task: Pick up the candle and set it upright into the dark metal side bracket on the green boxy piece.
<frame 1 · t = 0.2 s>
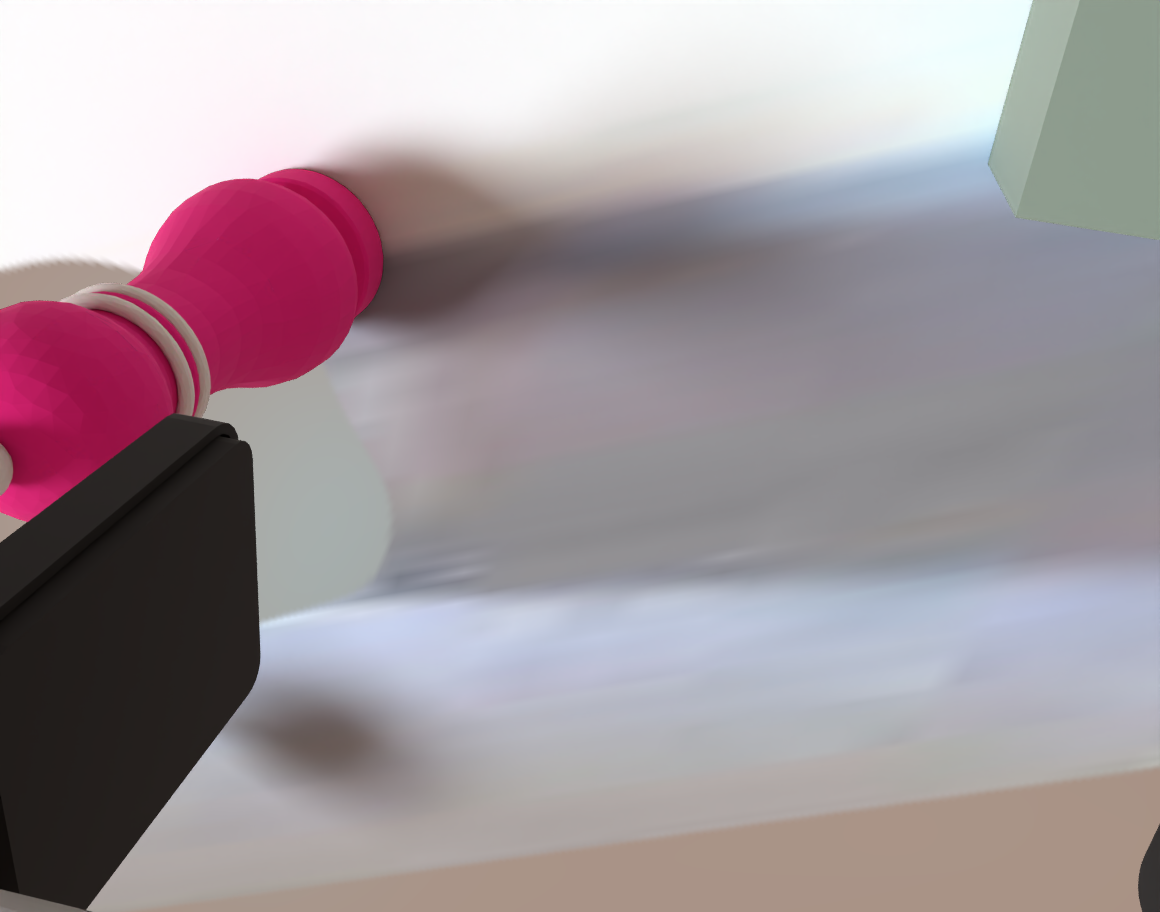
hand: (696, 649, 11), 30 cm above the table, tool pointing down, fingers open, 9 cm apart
pepper mill: (311, 247, 43), on the table
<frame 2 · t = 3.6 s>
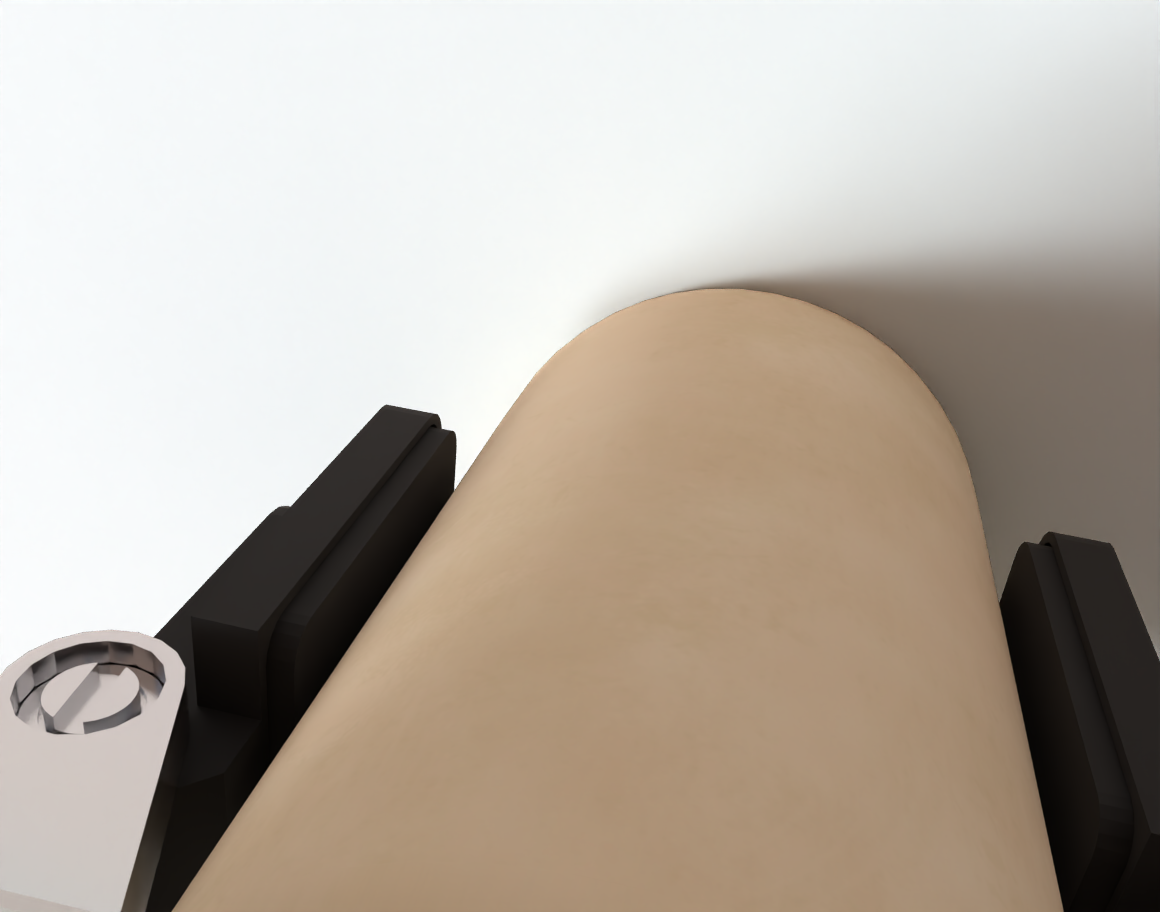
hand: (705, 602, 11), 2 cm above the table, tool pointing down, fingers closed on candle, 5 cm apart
candle: (728, 498, 13), on the table, touching gripper
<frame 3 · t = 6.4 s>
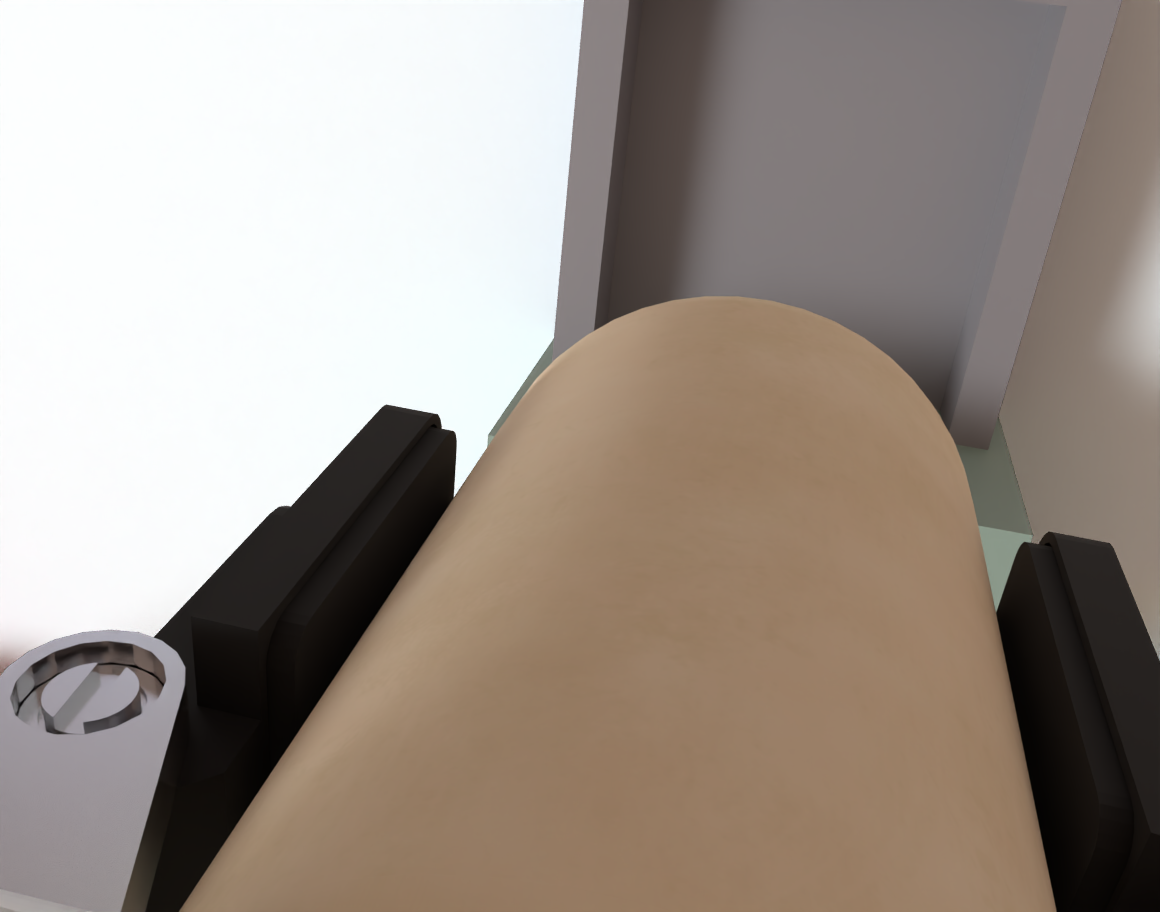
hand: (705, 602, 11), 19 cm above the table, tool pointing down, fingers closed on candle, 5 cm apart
candle: (726, 504, 13), point 17 cm above the table, touching gripper
green boxy piece: (764, 400, 31), on the table
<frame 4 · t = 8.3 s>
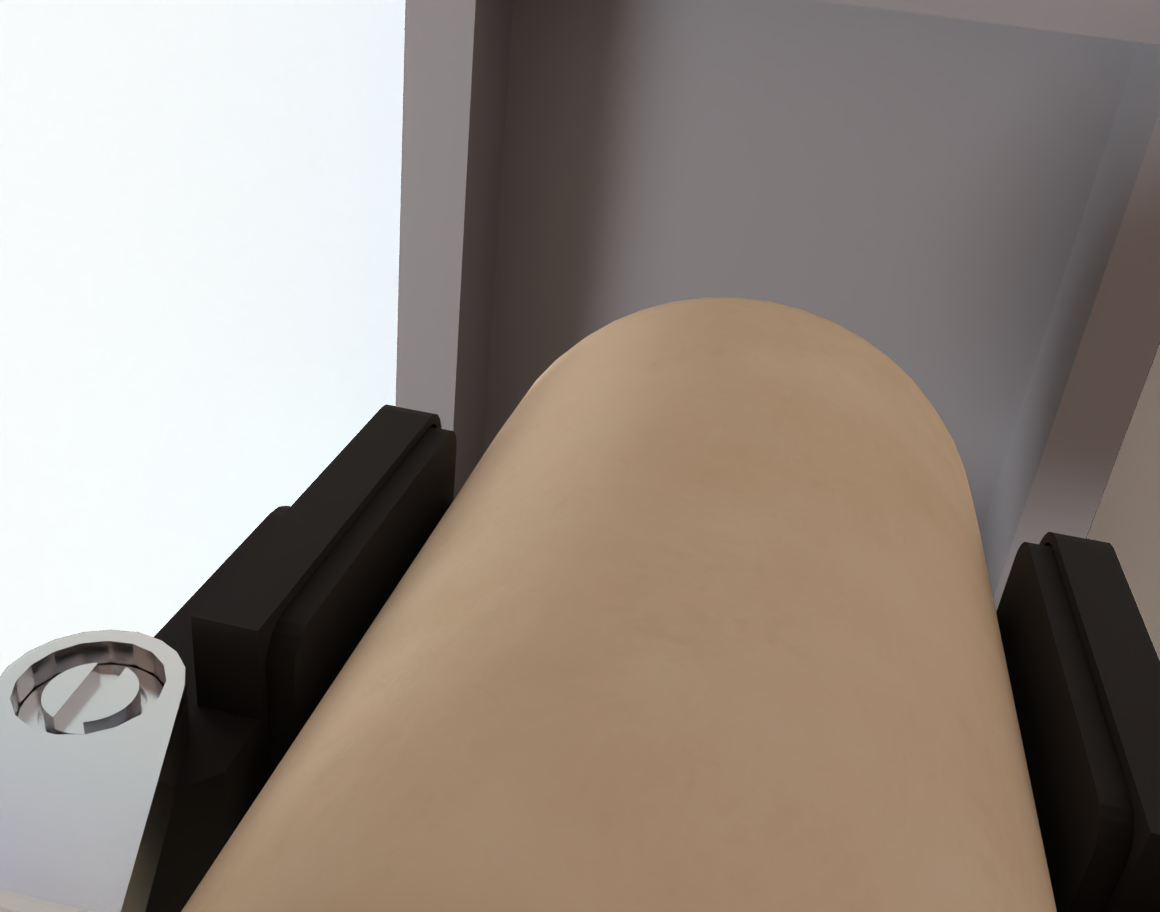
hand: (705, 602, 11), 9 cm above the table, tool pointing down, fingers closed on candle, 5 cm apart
candle: (726, 505, 13), point 7 cm above the table, touching gripper
green boxy piece: (706, 577, 22), on the table
when the fingers open (4 cm above the table, at t = 9.7 s): candle drops 1 cm, resting on green boxy piece.
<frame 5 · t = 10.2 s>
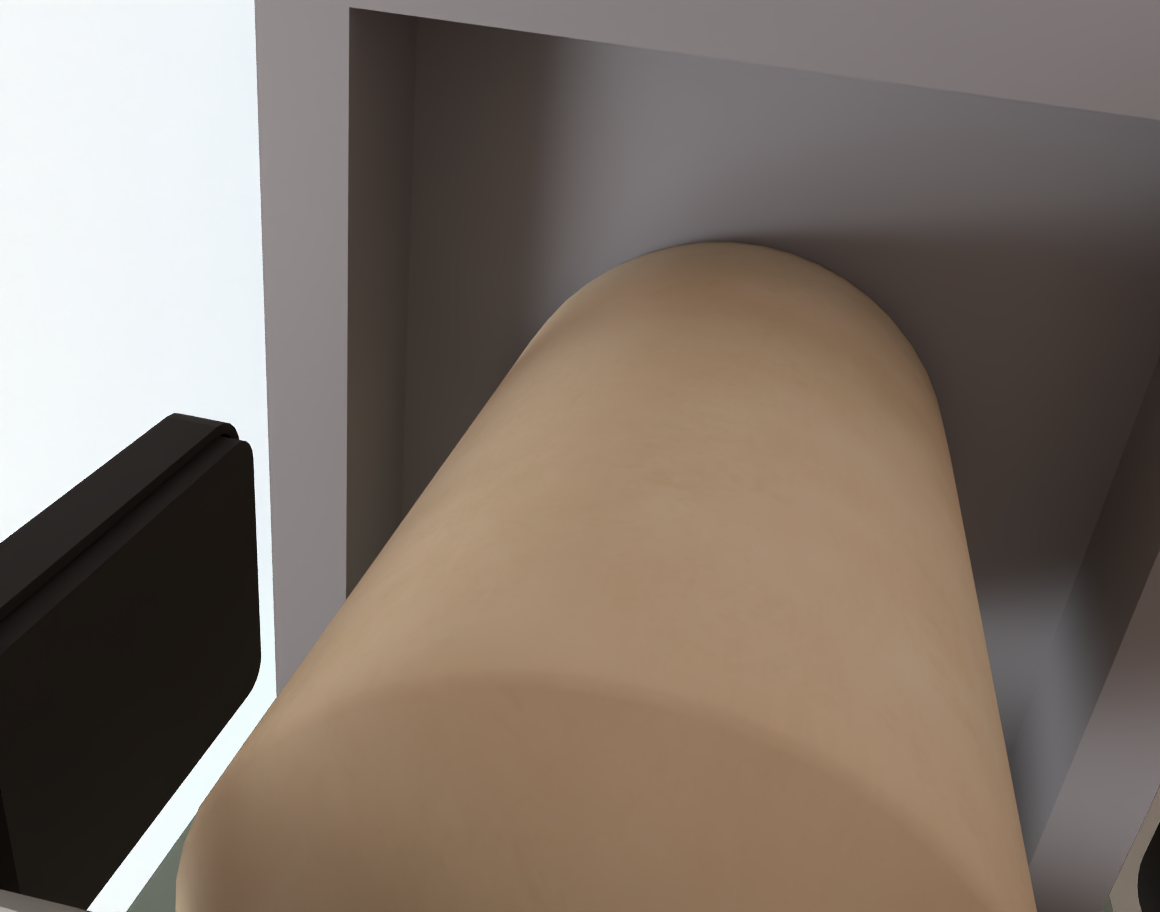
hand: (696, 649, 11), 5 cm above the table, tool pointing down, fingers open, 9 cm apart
candle: (721, 438, 14), point 1 cm above the table, touching green boxy piece
green boxy piece: (679, 751, 18), on the table
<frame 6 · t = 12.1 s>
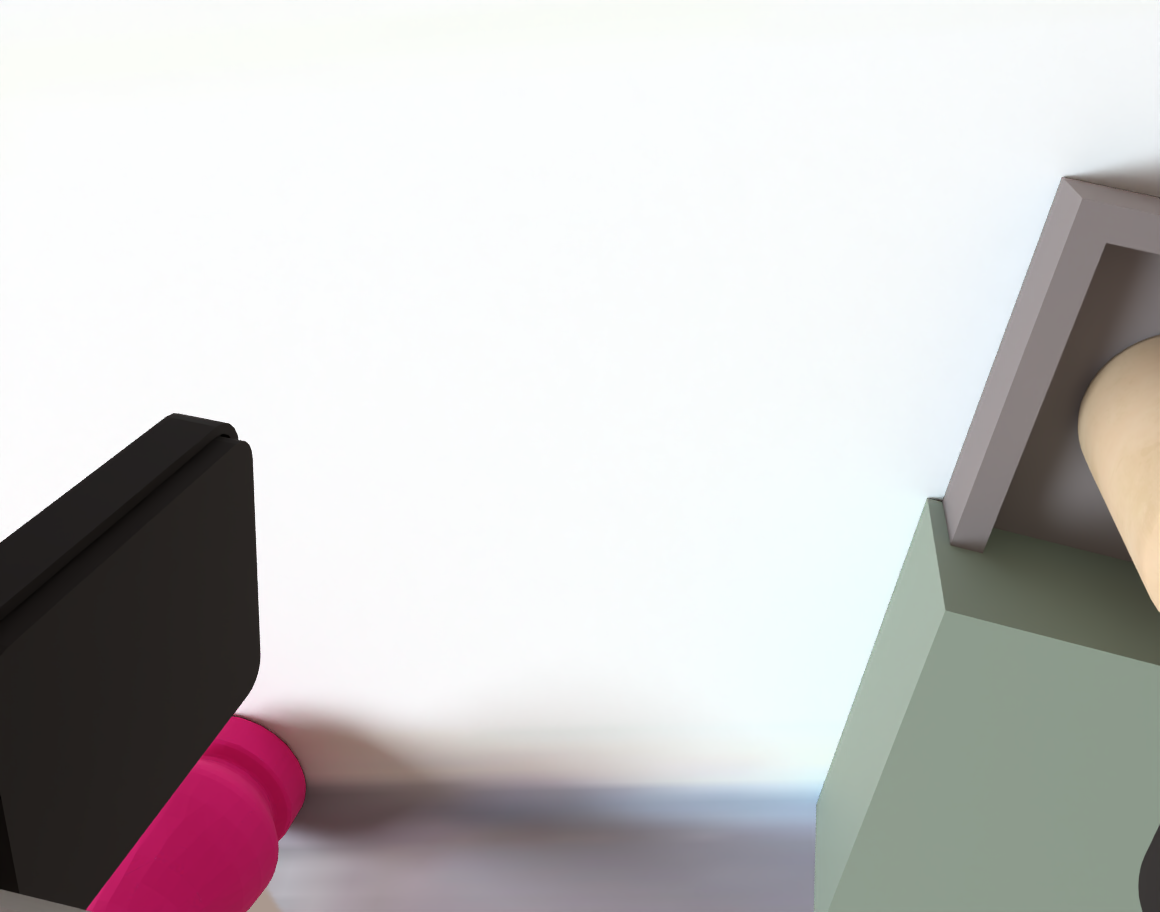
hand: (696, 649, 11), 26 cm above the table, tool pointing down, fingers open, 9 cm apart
pepper mill: (243, 767, 49), on the table
green boxy piece: (1097, 568, 37), on the table
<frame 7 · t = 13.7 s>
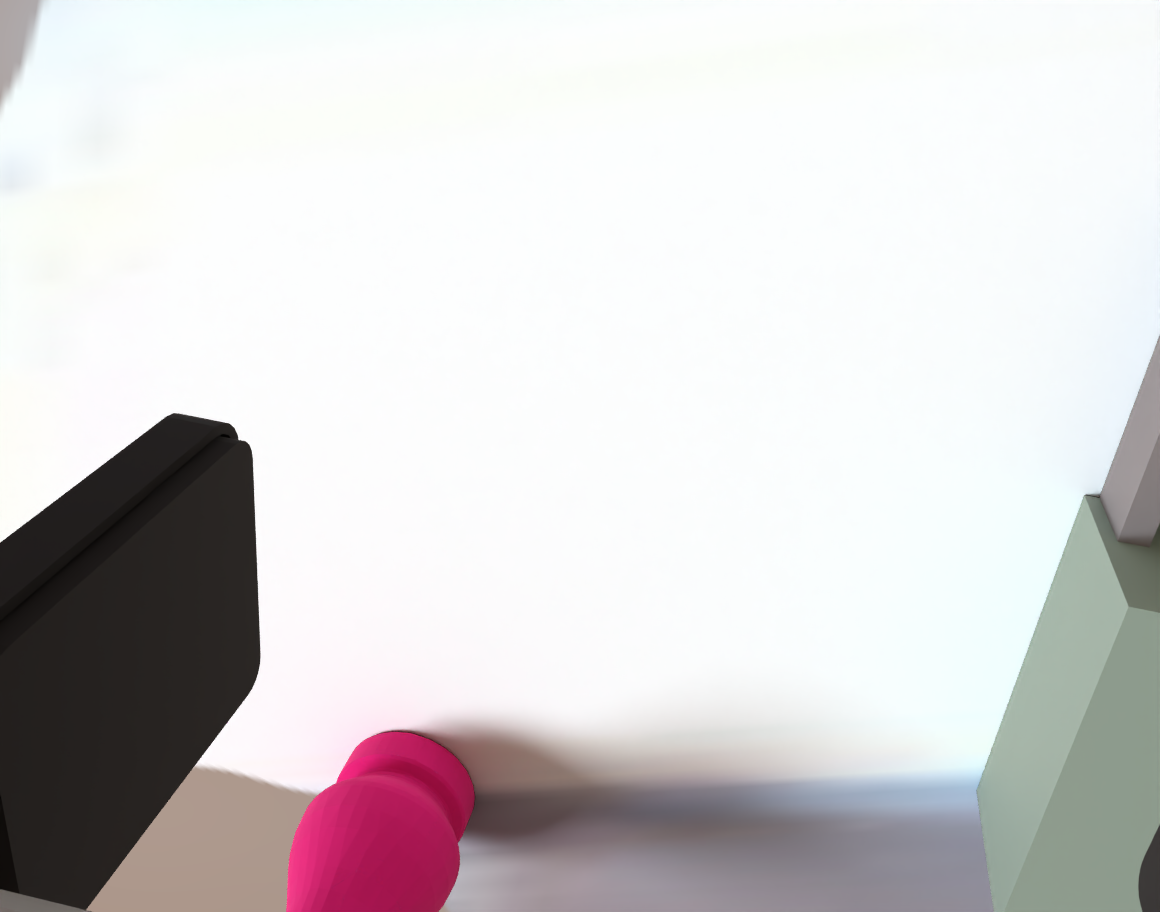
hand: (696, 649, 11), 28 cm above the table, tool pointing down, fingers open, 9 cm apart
pepper mill: (413, 779, 52), on the table
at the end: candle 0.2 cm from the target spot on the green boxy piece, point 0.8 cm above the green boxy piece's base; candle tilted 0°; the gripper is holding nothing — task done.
